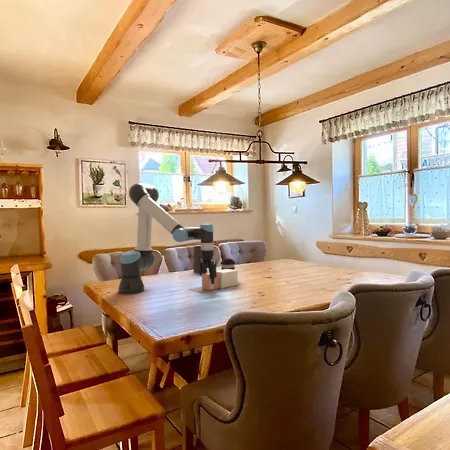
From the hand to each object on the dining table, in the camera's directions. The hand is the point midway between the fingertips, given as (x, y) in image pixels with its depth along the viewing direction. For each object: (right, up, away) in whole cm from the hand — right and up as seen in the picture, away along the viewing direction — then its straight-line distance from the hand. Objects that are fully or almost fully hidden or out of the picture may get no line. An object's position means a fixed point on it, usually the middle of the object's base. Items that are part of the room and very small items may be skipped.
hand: (208, 288), depth 212 cm
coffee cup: (+12, 0, +24) cm, 27 cm away
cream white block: (+10, 0, +9) cm, 13 cm away
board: (+4, -1, +3) cm, 5 cm away
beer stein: (-7, +1, +64) cm, 65 cm away
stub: (+1, 0, +1) cm, 2 cm away
